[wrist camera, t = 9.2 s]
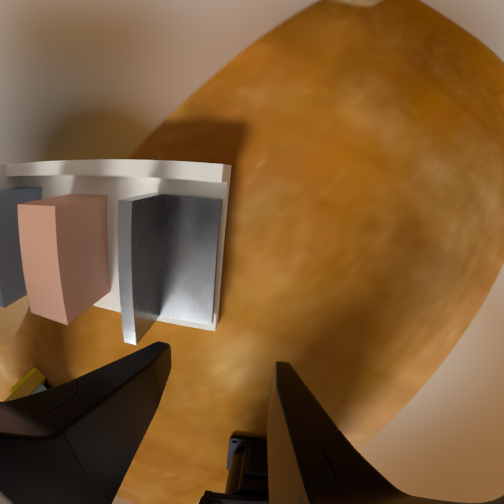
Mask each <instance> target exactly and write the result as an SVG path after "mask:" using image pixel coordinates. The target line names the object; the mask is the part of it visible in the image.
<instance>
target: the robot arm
mask: <svg viewBox="0 0 504 504" xmlns="http://www.w3.org/2000/svg"><path fill="white" fill-rule="evenodd" d="M170 370H171V347H170V345H169V344H168V343H164V342H155V343H153V344H151V345H149V346H147V347H145V348H143V349H140V350H138V351H136V352H134V353H132V354H130V355H127V356H125V357H123V358H121V359H119V360H116V361H114V362H112V363H110V364H108V365H105V366H103V367H101V368H99V369H96V370H94V371H92V372H90V373H87V374H85V375H83V376H80V377H78V379H73V380H71V381H69V382H66V383H64V384H61V385H58V386H56V387H53V388H50V389H47V390H44V391H41V392H38V393H34V394H31V395H28V396H24V397H21V398H17V399H13V400H10V401H5V402H0V504H112V502H113V500H114V497H115V496H116V493H117V491H118V489H119V487H120V485H121V483H122V481H123V479H124V477H125V474H126V472H127V470H128V468H129V466H130V464H131V462H132V460H133V458H134V456H135V454H136V452H137V449H138V447H139V445H140V443H141V441H142V439H143V437H144V435H145V433H146V431H147V429H148V427H149V425H150V423H151V421H152V419H153V417H154V415H155V413H156V410H157V408H158V406H159V403H160V400H161V397H162V394H163V391H164V388H165V385H166V382H167V379H168V376H169V373H170ZM227 469H228V470H229V474H228V479H227V484H226V489H225V493H216V492H212V491H207V490H206V491H205V493H204V496H203V497H201V500H200V502H199V504H504V495H503V496H501V497H500V498H497V499H495V500H493V501H489V502H484V503H460V502H450V501H442V500H435V499H428V498H422V497H416V496H411V495H409V494H406V493H404V492H402V491H400V490H399V489H397V488H396V487H395V486H393V485H392V484H391V483H390V482H389V481H388V480H387V479H386V478H384V477H383V476H382V475H381V474H380V473H379V472H378V471H377V470H376V469H375V468H374V467H373V466H372V465H371V464H370V463H369V462H368V461H366V459H364V458H363V456H362V455H361V454H360V453H359V452H358V451H357V450H356V449H355V448H354V447H353V446H352V445H351V443H350V442H349V441H348V440H347V439H346V437H345V436H344V435H343V434H342V432H341V431H340V430H338V427H337V426H336V425H335V423H334V422H333V421H332V419H331V418H330V417H329V416H328V414H327V413H326V412H325V410H324V409H323V408H322V406H321V405H320V404H319V402H318V401H317V400H316V398H315V397H314V396H313V394H312V393H311V392H310V390H309V389H308V388H307V386H306V385H305V384H304V382H303V381H302V379H301V378H300V377H299V375H298V374H297V373H296V371H295V370H294V369H293V367H292V366H291V364H290V363H288V362H280V361H277V362H276V363H275V367H274V372H273V378H272V383H271V391H270V400H269V410H268V419H267V440H265V439H256V438H248V437H241V436H231V437H230V441H229V450H228V459H227Z"/></svg>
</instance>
